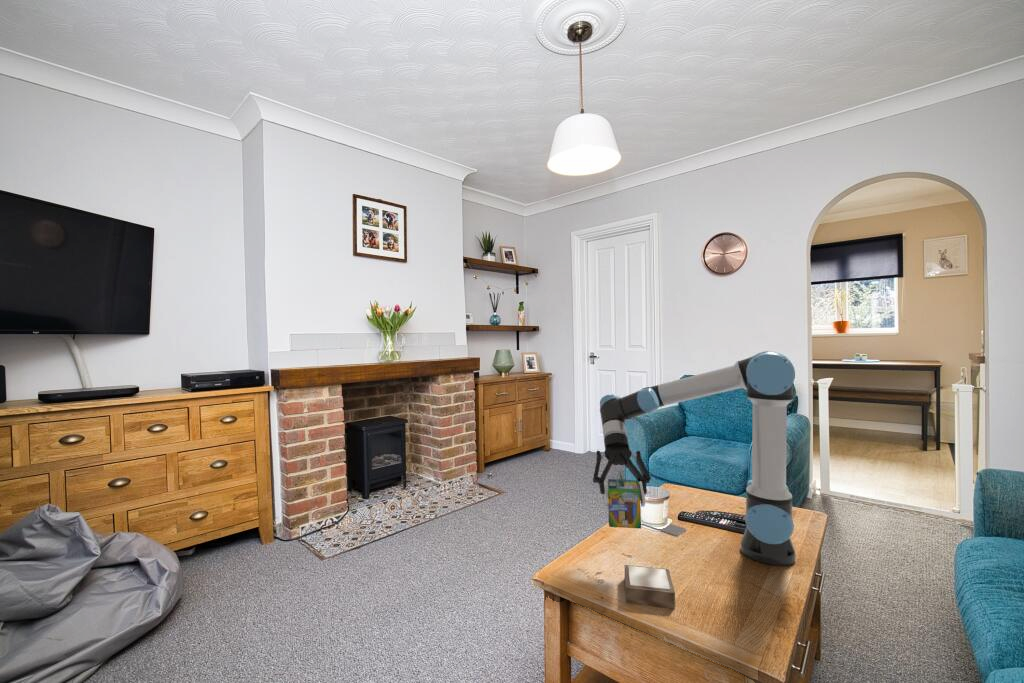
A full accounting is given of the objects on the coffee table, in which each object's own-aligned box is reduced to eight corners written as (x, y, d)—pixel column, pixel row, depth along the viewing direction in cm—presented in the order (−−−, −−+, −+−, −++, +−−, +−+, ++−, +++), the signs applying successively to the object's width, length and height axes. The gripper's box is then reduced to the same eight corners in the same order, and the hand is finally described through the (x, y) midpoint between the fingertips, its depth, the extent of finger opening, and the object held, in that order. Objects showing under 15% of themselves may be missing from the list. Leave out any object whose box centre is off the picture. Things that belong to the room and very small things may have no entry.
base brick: (668, 583, 126) (668, 568, 126) (674, 608, 114) (674, 591, 114) (624, 578, 129) (624, 563, 128) (626, 602, 117) (626, 586, 117)
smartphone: (649, 517, 172) (687, 528, 161) (649, 519, 172) (687, 531, 161) (639, 522, 167) (677, 534, 156) (639, 525, 167) (677, 537, 156)
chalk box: (641, 529, 128) (640, 478, 128) (608, 527, 130) (607, 476, 130) (638, 516, 137) (638, 468, 137) (608, 514, 139) (607, 467, 139)
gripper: (648, 443, 148) (661, 510, 133) (580, 443, 149) (585, 509, 134) (652, 431, 143) (667, 498, 127) (581, 431, 144) (587, 498, 128)
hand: (625, 504), depth 130 cm, fingers closed on chalk box, 10 cm apart
